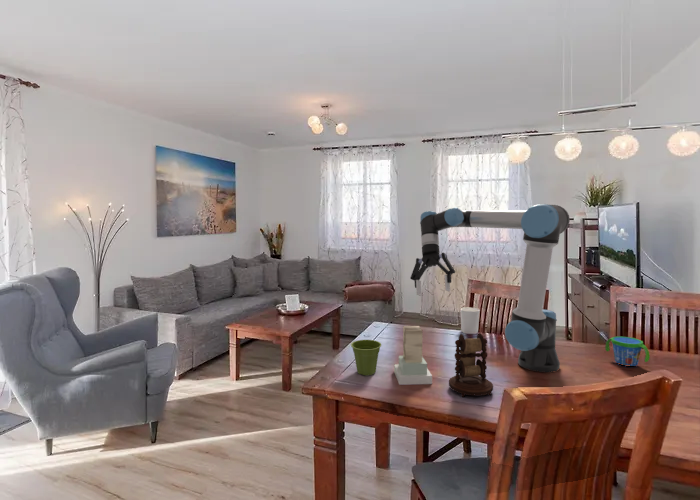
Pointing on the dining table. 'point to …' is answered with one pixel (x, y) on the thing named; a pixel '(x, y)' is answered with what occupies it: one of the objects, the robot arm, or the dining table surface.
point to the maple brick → (412, 344)
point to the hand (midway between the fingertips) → (433, 293)
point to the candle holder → (469, 320)
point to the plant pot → (366, 355)
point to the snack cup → (627, 350)
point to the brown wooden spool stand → (471, 367)
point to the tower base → (412, 377)
